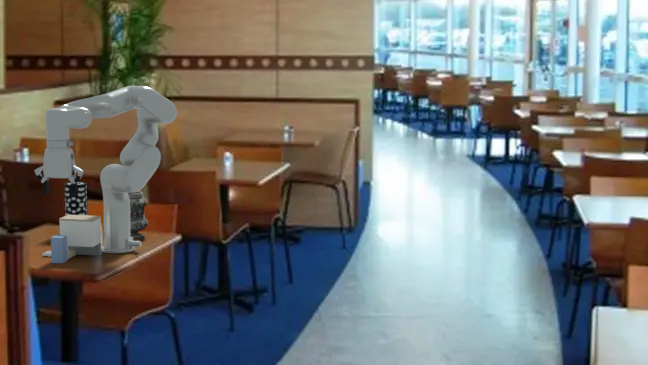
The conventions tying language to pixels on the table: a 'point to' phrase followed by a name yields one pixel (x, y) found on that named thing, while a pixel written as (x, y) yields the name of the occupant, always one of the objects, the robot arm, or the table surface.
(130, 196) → the apothecary jar
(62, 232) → the cabinet
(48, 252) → the block
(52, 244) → the light blue block
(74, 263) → the table surface
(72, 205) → the spotted tube
